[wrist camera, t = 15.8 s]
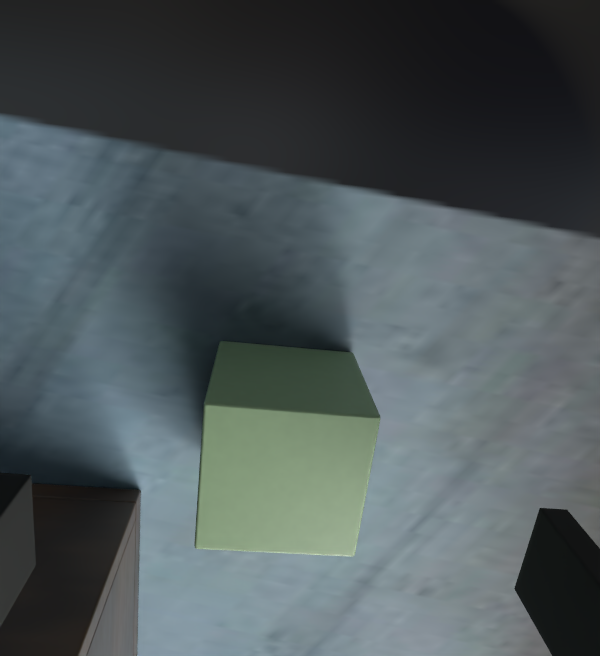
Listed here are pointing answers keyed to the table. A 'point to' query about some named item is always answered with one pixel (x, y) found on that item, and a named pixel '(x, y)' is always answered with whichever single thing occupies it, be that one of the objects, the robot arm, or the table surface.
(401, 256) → the table surface
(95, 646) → the cabinet
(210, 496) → the block
